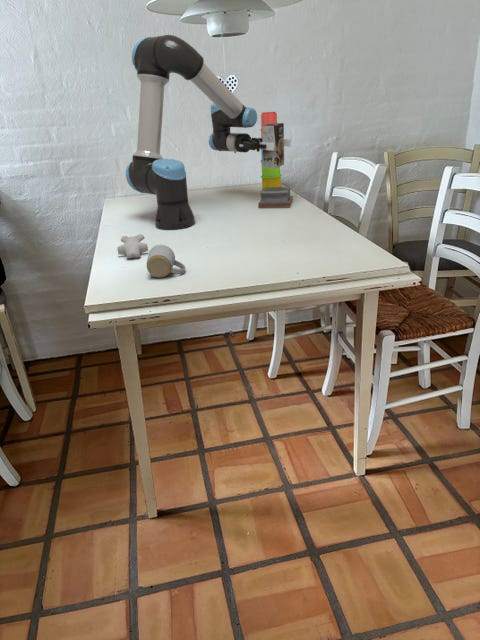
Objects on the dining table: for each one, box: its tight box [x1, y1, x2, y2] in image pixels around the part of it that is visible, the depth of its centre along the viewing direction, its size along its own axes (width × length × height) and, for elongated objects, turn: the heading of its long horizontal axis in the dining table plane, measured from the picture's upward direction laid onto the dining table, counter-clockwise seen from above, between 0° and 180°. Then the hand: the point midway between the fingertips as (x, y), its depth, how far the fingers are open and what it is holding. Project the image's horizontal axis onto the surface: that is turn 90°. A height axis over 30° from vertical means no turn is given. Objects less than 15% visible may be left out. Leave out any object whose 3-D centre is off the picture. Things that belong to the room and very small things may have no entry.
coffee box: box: [262, 122, 285, 168], centre depth 192 cm, size 9×6×16 cm
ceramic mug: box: [146, 244, 187, 279], centre depth 136 cm, size 11×8×8 cm
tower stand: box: [257, 186, 294, 209], centre depth 201 cm, size 13×13×6 cm
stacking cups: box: [259, 111, 283, 193], centre depth 216 cm, size 10×10×35 cm
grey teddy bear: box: [116, 233, 149, 260], centre depth 155 cm, size 10×5×15 cm
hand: (282, 144), depth 189 cm, fingers closed on coffee box, 10 cm apart
